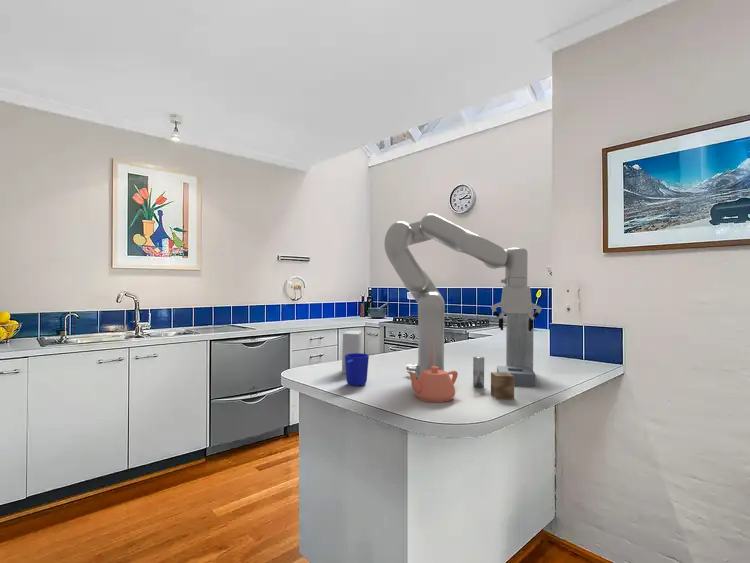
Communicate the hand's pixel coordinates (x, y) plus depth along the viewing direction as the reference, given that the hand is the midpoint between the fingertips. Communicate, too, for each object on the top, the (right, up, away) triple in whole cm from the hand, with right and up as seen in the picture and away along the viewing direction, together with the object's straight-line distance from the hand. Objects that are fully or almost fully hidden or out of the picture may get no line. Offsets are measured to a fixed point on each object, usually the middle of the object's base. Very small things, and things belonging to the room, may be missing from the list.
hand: (515, 330), depth 148 cm
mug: (-57, -18, -8) cm, 61 cm away
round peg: (-16, -18, -9) cm, 25 cm away
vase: (+6, -19, +14) cm, 24 cm away
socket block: (0, -18, 0) cm, 18 cm away
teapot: (-33, -18, -22) cm, 44 cm away
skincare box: (-59, -18, +14) cm, 64 cm away
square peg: (-11, -18, -20) cm, 29 cm away
